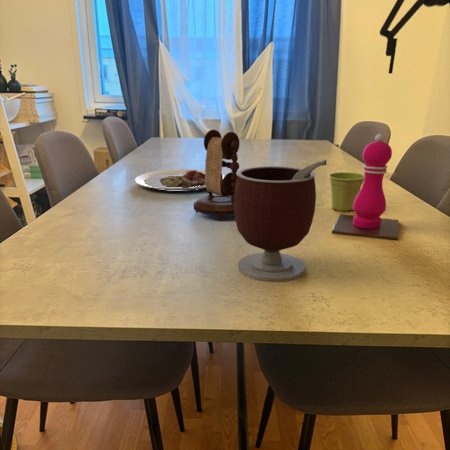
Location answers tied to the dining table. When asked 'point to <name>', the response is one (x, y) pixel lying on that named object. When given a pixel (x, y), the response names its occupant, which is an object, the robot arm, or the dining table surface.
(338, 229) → the coaster board
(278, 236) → the mate gourd
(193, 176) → the plated food
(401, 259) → the dining table surface
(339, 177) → the plant pot
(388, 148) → the pepper mill
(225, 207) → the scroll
